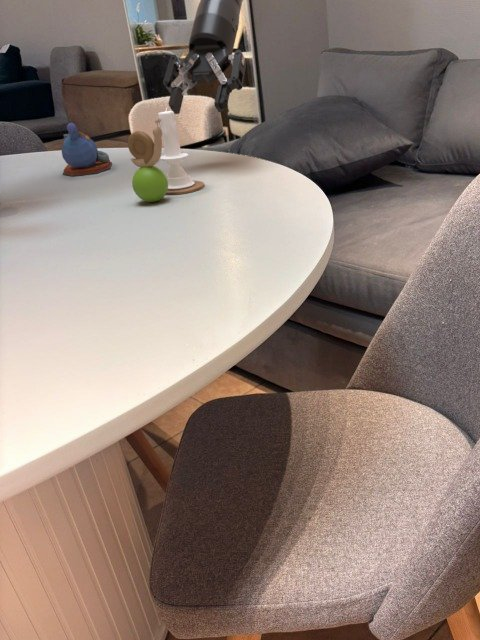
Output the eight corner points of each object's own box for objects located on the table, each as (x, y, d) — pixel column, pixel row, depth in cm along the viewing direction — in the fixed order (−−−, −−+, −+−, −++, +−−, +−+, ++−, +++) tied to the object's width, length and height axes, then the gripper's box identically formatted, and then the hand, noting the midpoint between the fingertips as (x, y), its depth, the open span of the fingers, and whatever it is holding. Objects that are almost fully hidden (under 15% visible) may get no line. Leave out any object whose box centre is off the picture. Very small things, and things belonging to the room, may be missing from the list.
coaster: (152, 196, 104) (152, 194, 103) (161, 185, 110) (160, 182, 110) (201, 192, 103) (200, 190, 103) (207, 181, 110) (206, 178, 110)
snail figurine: (165, 206, 97) (149, 122, 91) (129, 206, 99) (111, 123, 93) (182, 197, 102) (168, 115, 95) (147, 196, 104) (131, 117, 97)
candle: (201, 183, 107) (189, 105, 101) (176, 191, 104) (162, 111, 97) (181, 180, 110) (167, 105, 104) (156, 188, 107) (141, 110, 101)
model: (108, 172, 124) (97, 120, 119) (60, 178, 123) (46, 126, 118) (113, 160, 134) (103, 113, 129) (69, 166, 133) (56, 118, 128)
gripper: (169, 15, 110) (148, 97, 107) (244, 7, 106) (224, 93, 103) (189, 47, 117) (170, 125, 114) (260, 41, 113) (242, 122, 110)
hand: (196, 110), depth 109 cm, fingers open, 8 cm apart
